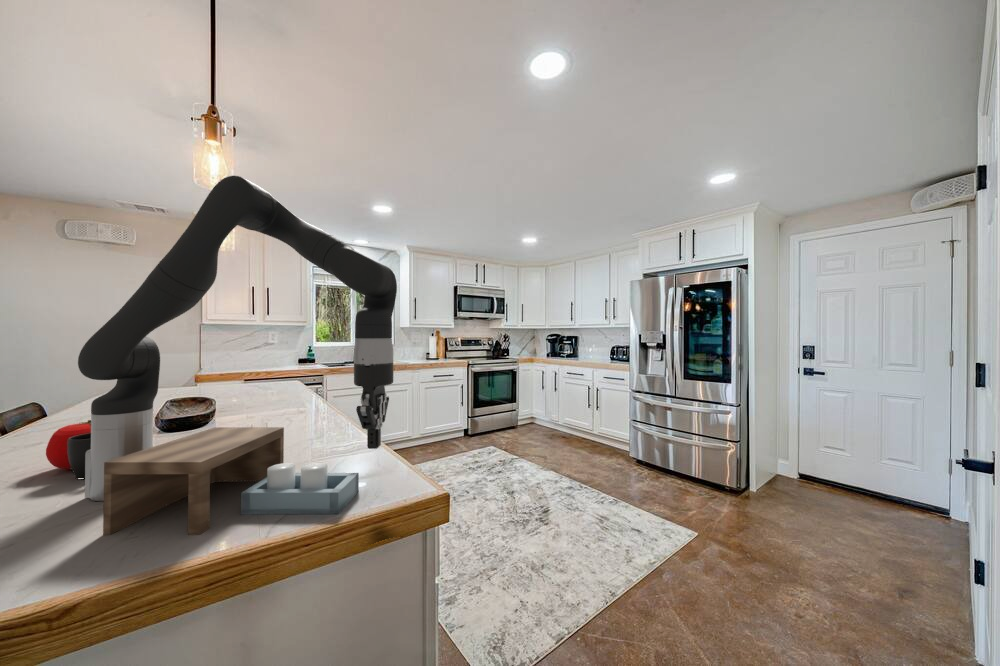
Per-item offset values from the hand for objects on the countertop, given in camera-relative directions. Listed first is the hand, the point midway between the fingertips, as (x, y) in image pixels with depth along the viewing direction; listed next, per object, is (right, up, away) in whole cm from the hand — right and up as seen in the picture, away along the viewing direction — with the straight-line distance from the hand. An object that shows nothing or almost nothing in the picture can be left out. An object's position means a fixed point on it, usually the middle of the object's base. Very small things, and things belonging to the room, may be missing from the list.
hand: (374, 447), depth 74 cm
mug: (-70, -11, +13) cm, 72 cm away
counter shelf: (-33, -11, 0) cm, 35 cm away
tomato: (-80, -11, +20) cm, 83 cm away
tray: (-14, -11, 0) cm, 18 cm away
